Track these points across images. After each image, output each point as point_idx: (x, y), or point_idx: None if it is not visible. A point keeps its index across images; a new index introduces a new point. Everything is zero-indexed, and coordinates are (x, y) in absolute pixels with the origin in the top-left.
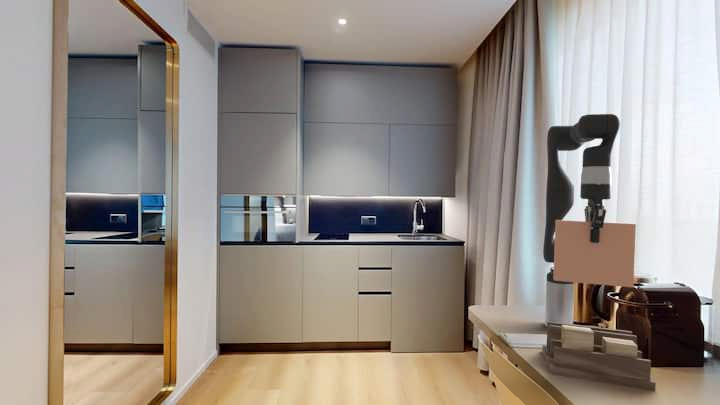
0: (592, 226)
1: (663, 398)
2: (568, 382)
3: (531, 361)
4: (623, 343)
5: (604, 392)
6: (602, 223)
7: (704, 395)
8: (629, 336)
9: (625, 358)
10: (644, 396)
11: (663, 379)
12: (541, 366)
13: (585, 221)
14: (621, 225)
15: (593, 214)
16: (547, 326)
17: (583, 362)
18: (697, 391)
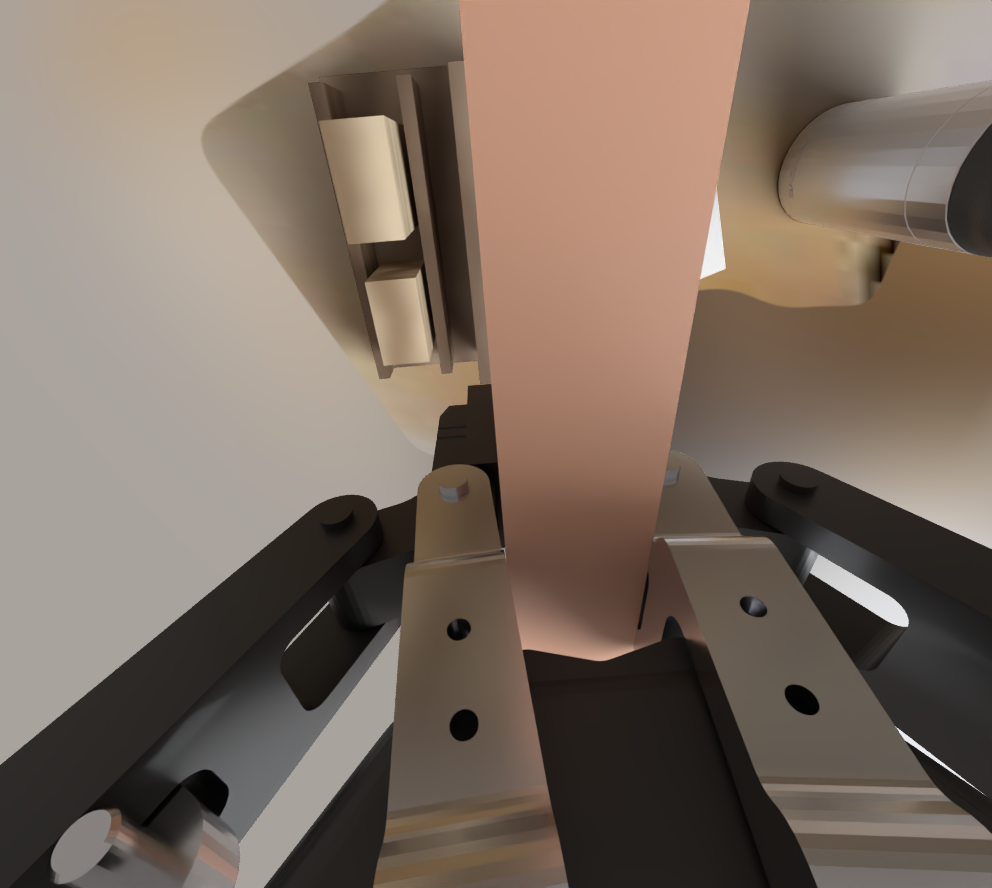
0: (348, 508)
1: (354, 366)
2: (296, 142)
3: (399, 4)
4: (383, 331)
5: (296, 240)
6: (297, 652)
7: (421, 441)
8: (478, 364)
9: (366, 321)
10: (338, 330)
11: (467, 393)
12: (372, 49)
13: (583, 488)
14: None
15: (362, 762)
16: None
17: None
18: (435, 435)
